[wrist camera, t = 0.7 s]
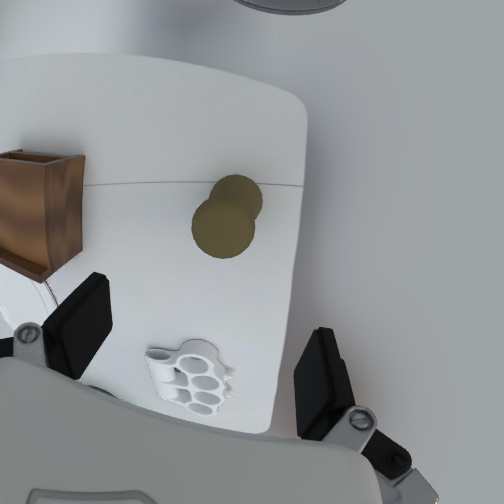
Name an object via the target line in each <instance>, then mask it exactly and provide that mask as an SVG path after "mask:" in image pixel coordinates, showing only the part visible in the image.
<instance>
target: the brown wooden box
mask: <svg viewBox="0 0 504 504" xmlns="http://www.w3.org/2000/svg"><path fill="white" fill-rule="evenodd" d="M84 162H85V156H84V155H76V156H72V157H67V156H59V155H49V154H39V153H28V152H22V149H17V150H13V151H9V152H5V153H1V154H0V264H2V265H4V266H6V267H7V268H9V269H11V270H13V271H15V272H17V273H19V274H21V275H23V276H25V277H27V278H29V279H31V280H33V281H35V282H37V283H40V284H42V283H43V282H44V281H45V280H46V279H48V278H49V277H50V276H51V275H52V274H53V273H55V272H56V271H57V270H58V269H59V268H61V267H62V266H63V265H64V264H66V263H67V262H68V261H69V260H71V259H72V258H73V257H74V256H76V255H77V254H78V253H80V252H81V251H82V189H83V173H84Z"/></svg>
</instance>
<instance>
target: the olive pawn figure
mask: <svg viewBox="0 0 504 504" xmlns="http://www.w3.org/2000/svg"><path fill="white" fill-rule="evenodd" d="M262 202H263V200H262V193H261V191H260V189H259V187H258V186H257V185H256V184H255V183H254V182H253V181H252V180H251V179H249V178H247V177H245V176H241V175H230V176H226V177H224V178H222V179H220V180H219V181H218V182H217V183H216V184H215V185H214V187H213V189H212V191H211V194H210V197H209V199H208V200H206V201H204V202H203V203H202V204H201V205H200V206H199V207H198V208H197V209H196V212H195V214H194V216H193V218H192V229H191V230H192V234H193V239H194V240H195V242H196V244H197V245H198V247H199V248H200V249H201V250H202V251H204V252H205V253H206V254H208V255H210V256H212V257H216V258H221V259H225V258H232V257H235V256H237V255H239V254H241V253H242V252H243V251H244V250H245V249H246V248H248V247H249V245H250V243H251V241H252V240H253V237H254V232H255V221H254V220H255V219H256V217H257V216H258V214H259V212H260V211H261V208H262Z"/></svg>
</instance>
